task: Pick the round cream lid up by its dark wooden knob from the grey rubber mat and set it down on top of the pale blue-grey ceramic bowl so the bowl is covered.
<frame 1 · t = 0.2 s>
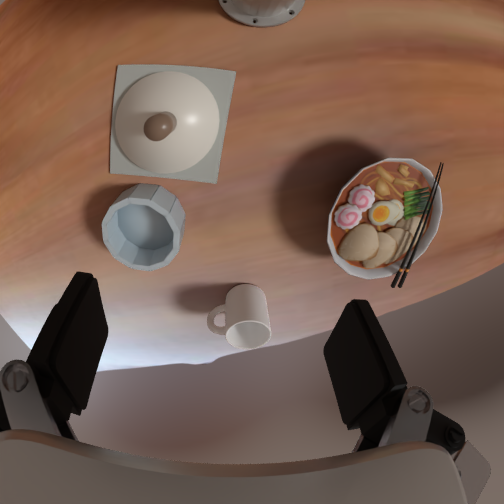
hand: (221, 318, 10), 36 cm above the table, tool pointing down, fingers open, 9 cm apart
ramen bowl: (372, 204, 48), on the table
mug: (236, 298, 58), on the table
bowl: (148, 219, 46), on the table
lid: (166, 122, 37), resting on mat
mat: (166, 121, 38), on the table
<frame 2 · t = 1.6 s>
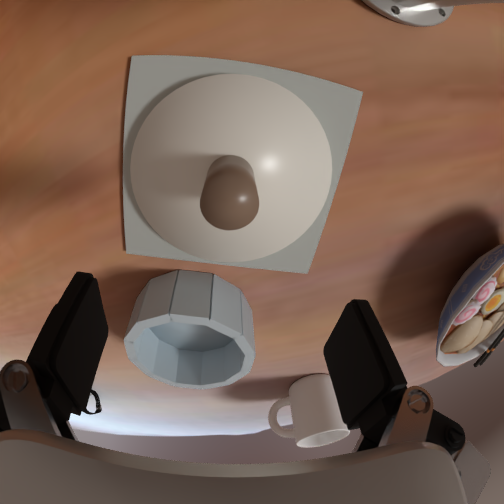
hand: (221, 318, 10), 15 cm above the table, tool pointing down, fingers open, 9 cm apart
ramen bowl: (473, 279, 32), on the table
mug: (301, 385, 43), on the table
bowl: (193, 315, 31), on the table
lid: (230, 173, 22), resting on mat
smartwatch: (92, 390, 43), on the table
mat: (230, 171, 22), on the table
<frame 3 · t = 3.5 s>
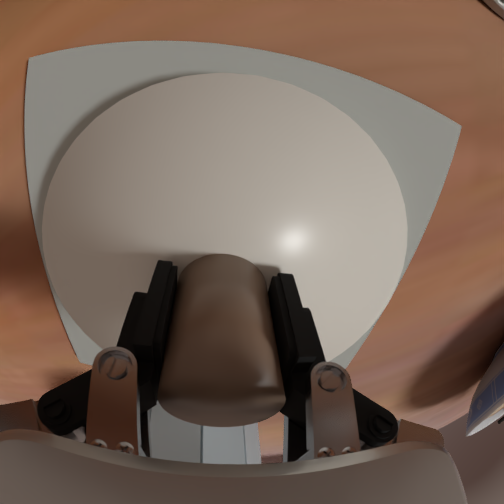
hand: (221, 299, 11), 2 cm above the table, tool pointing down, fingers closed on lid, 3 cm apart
bowl: (180, 419, 21), on the table
lid: (221, 276, 12), resting on mat, touching gripper
mat: (221, 270, 12), on the table
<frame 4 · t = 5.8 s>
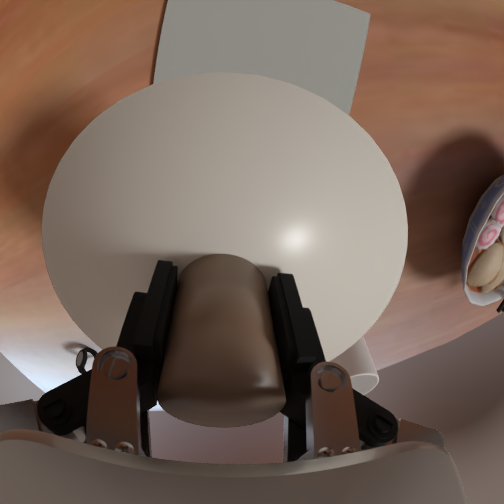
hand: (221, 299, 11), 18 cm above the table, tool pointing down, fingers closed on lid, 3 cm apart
ramen bowl: (488, 215, 31), on the table
mug: (321, 334, 41), on the table
lid: (221, 276, 12), point 17 cm above the table, touching gripper
smartwatch: (92, 351, 42), on the table
mat: (258, 70, 21), on the table
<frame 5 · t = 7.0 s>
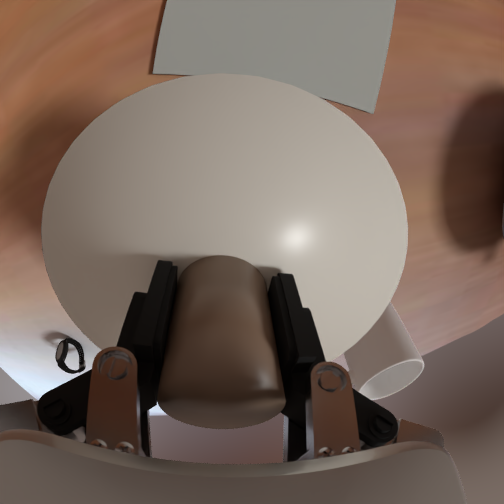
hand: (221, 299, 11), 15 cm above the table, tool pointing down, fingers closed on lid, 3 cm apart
mug: (350, 319, 34), on the table
lid: (221, 277, 12), point 13 cm above the table, touching gripper
smartwatch: (75, 342, 34), on the table
when the fingers open (9 cm above the table, at t = 8.2 s): lid drops 1 cm, resting on bowl.
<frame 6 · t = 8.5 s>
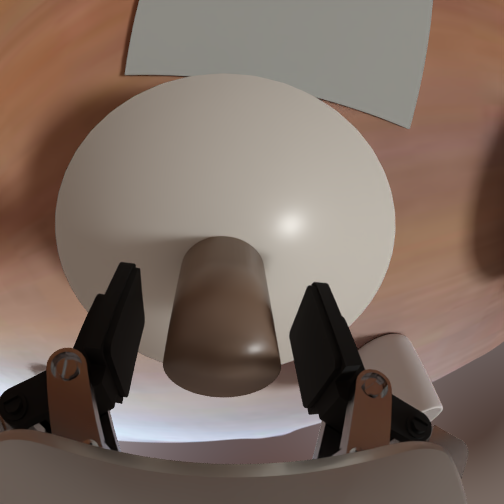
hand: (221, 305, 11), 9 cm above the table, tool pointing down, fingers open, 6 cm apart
mug: (363, 356, 29), on the table
lid: (222, 259, 13), point 6 cm above the table, touching bowl
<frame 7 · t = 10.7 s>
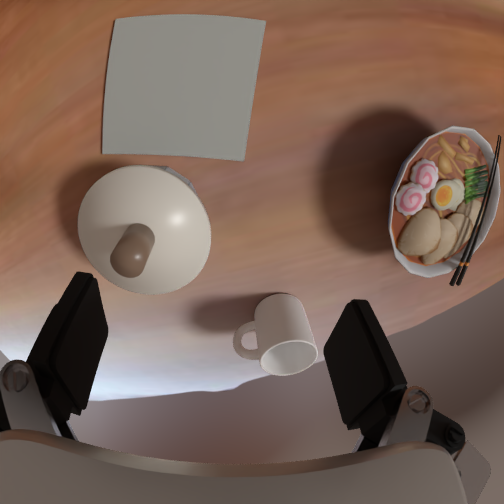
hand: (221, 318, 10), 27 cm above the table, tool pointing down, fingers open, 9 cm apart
ramen bowl: (425, 188, 37), on the table
mug: (267, 312, 46), on the table
lid: (141, 233, 30), point 6 cm above the table, touching bowl
mat: (177, 82, 27), on the table
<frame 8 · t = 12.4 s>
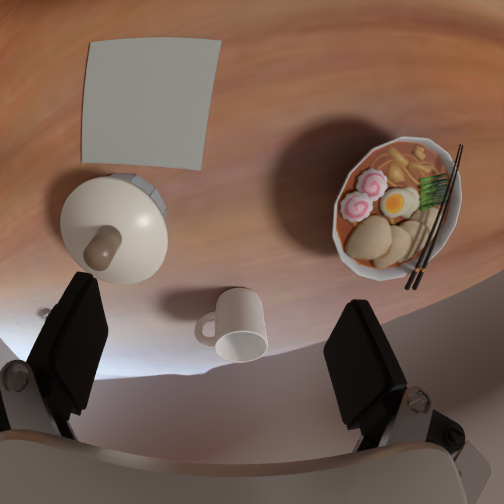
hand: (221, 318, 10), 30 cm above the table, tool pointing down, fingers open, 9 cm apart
ramen bowl: (382, 194, 41), on the table
mug: (228, 303, 51), on the table
bowl: (125, 214, 39), on the table
lid: (112, 233, 34), point 6 cm above the table, touching bowl
mat: (142, 101, 31), on the table
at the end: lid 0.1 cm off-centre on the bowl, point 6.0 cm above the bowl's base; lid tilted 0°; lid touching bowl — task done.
